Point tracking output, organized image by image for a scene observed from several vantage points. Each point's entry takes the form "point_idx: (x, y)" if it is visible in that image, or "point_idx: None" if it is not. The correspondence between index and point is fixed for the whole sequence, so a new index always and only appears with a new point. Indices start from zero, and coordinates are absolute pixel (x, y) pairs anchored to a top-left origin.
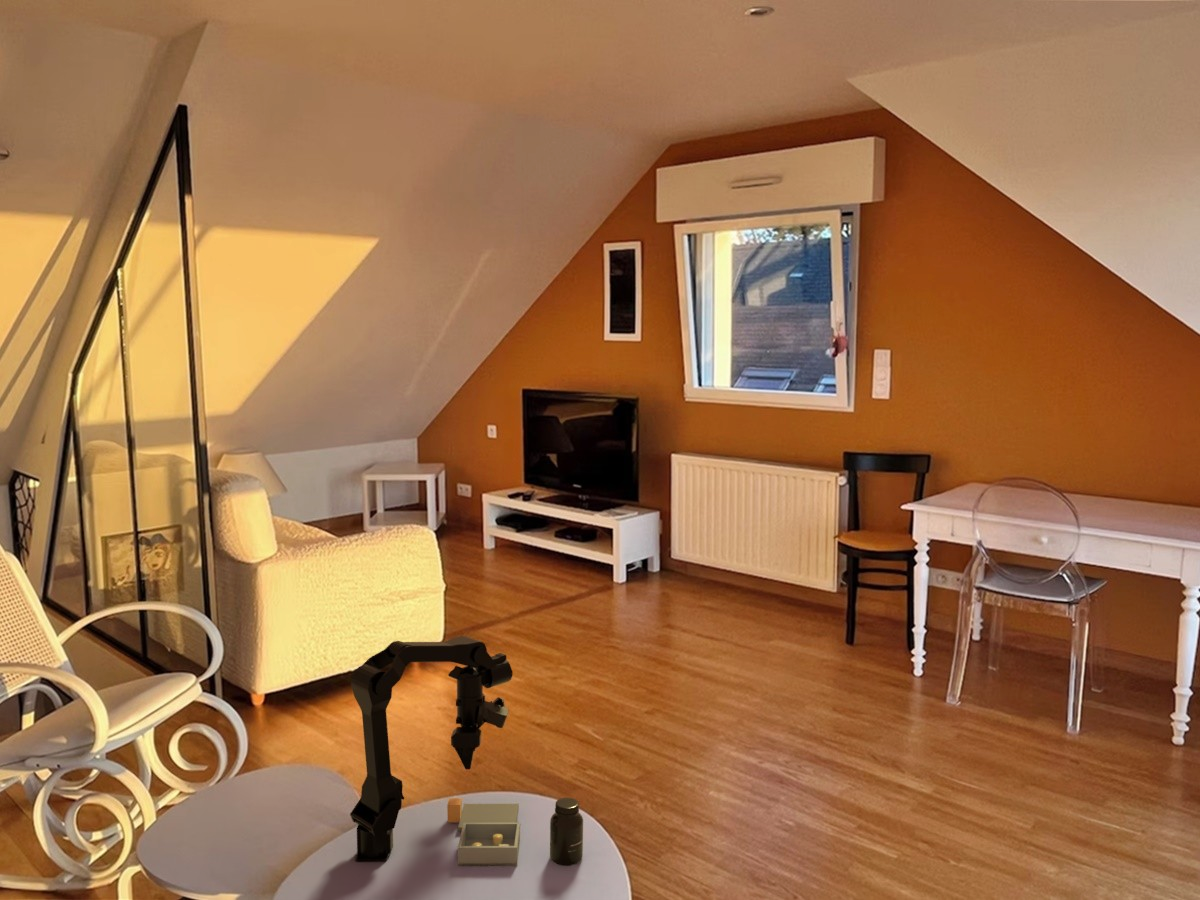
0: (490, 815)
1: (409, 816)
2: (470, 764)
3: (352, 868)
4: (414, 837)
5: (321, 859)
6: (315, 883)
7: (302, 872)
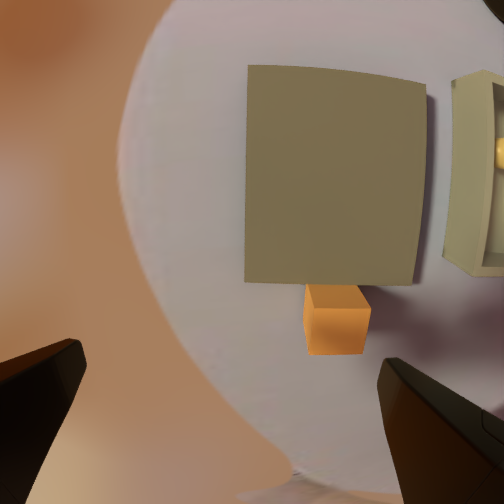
0: (344, 172)
1: (280, 413)
2: (425, 378)
3: None
4: None
5: None
6: None
7: None
